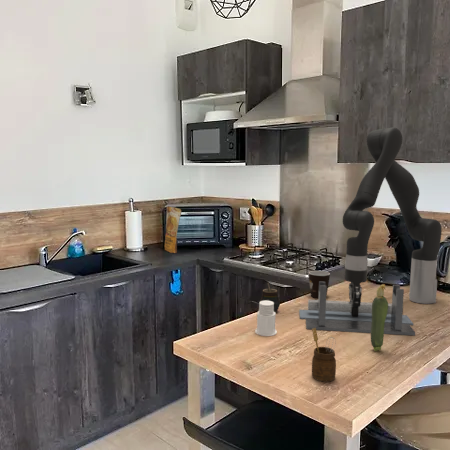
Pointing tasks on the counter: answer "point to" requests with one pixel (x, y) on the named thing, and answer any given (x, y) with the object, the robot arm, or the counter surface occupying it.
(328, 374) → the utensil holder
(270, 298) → the mate gourd
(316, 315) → the blue-gray flat board
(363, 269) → the robot arm
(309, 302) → the steel rail
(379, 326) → the vegetable
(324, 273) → the coffee mug
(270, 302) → the downlight
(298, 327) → the counter surface
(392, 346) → the counter surface
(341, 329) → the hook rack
